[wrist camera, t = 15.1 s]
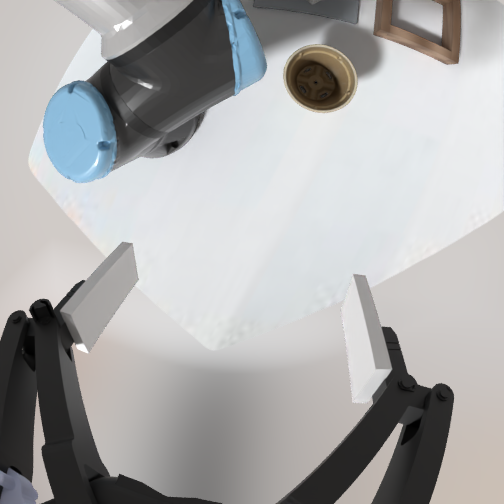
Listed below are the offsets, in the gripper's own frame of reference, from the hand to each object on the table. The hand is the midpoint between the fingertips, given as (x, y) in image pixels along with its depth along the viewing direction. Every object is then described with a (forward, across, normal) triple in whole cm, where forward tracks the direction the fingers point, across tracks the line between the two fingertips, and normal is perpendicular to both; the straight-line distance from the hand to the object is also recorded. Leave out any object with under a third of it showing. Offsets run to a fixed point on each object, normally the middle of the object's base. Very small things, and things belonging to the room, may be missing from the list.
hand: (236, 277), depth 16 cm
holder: (+32, -21, -31) cm, 50 cm away
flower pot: (+33, -5, -14) cm, 36 cm away
